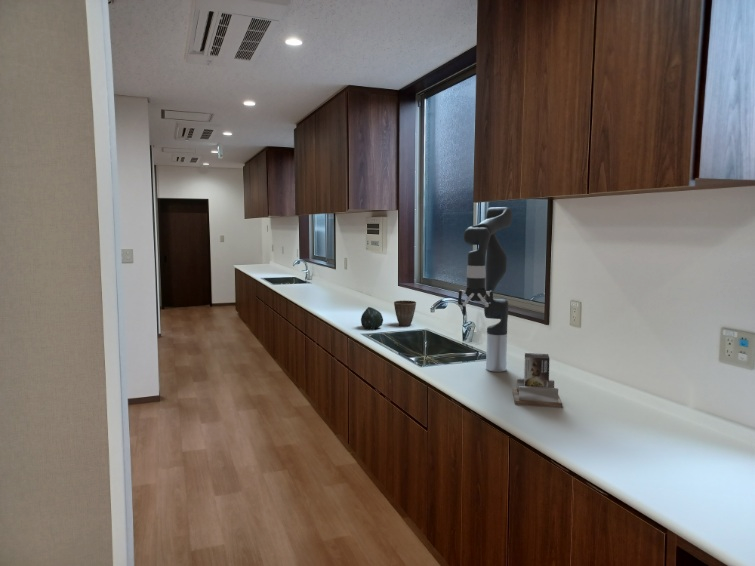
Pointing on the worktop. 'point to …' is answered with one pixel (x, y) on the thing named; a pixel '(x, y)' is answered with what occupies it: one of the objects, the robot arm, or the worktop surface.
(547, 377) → the coffee box
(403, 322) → the plant pot
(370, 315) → the squash
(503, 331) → the robot arm
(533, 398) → the clevis cradle
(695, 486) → the worktop surface
